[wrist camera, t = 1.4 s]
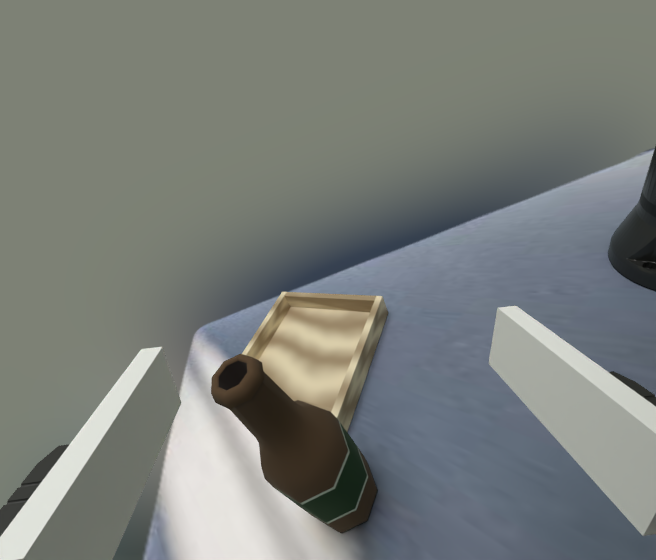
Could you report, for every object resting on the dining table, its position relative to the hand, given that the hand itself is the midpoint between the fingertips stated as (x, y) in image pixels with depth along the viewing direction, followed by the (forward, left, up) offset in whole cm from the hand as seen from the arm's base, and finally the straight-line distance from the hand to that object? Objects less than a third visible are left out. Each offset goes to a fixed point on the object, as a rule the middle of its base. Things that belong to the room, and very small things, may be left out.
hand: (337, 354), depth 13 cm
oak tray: (-16, -22, -29) cm, 40 cm away
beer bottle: (0, -10, -29) cm, 31 cm away
